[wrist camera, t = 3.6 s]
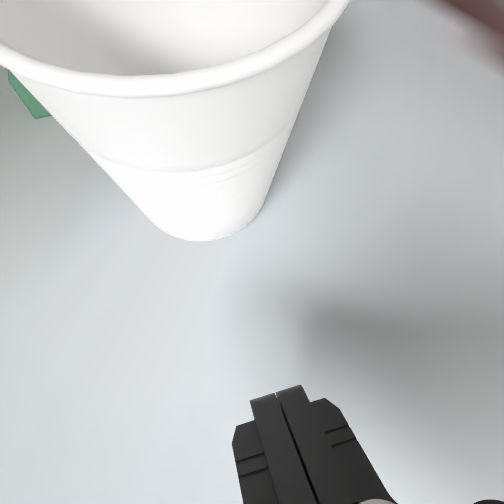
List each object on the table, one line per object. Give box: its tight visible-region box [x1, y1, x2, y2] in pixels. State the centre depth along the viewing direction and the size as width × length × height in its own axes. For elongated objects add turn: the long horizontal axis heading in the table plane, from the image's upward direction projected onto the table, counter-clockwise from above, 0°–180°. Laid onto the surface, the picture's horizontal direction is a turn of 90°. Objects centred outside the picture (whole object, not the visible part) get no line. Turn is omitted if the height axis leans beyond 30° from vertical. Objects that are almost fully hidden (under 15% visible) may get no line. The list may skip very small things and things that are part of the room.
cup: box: [0, 0, 351, 241], centre depth 14 cm, size 10×10×11 cm
